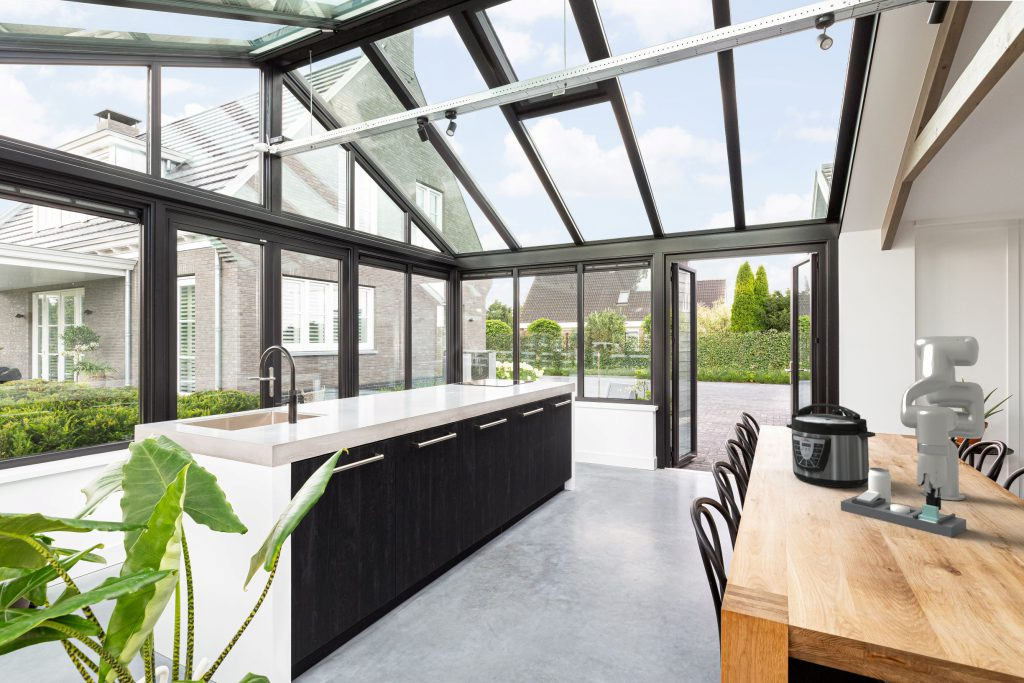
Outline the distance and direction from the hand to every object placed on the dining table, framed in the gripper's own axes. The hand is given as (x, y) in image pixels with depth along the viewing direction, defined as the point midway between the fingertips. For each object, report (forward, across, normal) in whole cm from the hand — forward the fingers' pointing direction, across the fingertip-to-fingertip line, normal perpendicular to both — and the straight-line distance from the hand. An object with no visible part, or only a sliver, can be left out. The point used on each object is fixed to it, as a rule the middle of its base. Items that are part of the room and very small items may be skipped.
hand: (933, 509), depth 158 cm
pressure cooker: (+6, -30, -45) cm, 54 cm away
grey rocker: (+1, 0, -18) cm, 18 cm away
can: (+6, -13, -20) cm, 25 cm away
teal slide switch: (+3, +2, 0) cm, 4 cm away
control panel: (+6, 0, -9) cm, 11 cm away
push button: (+6, 0, -9) cm, 11 cm away
